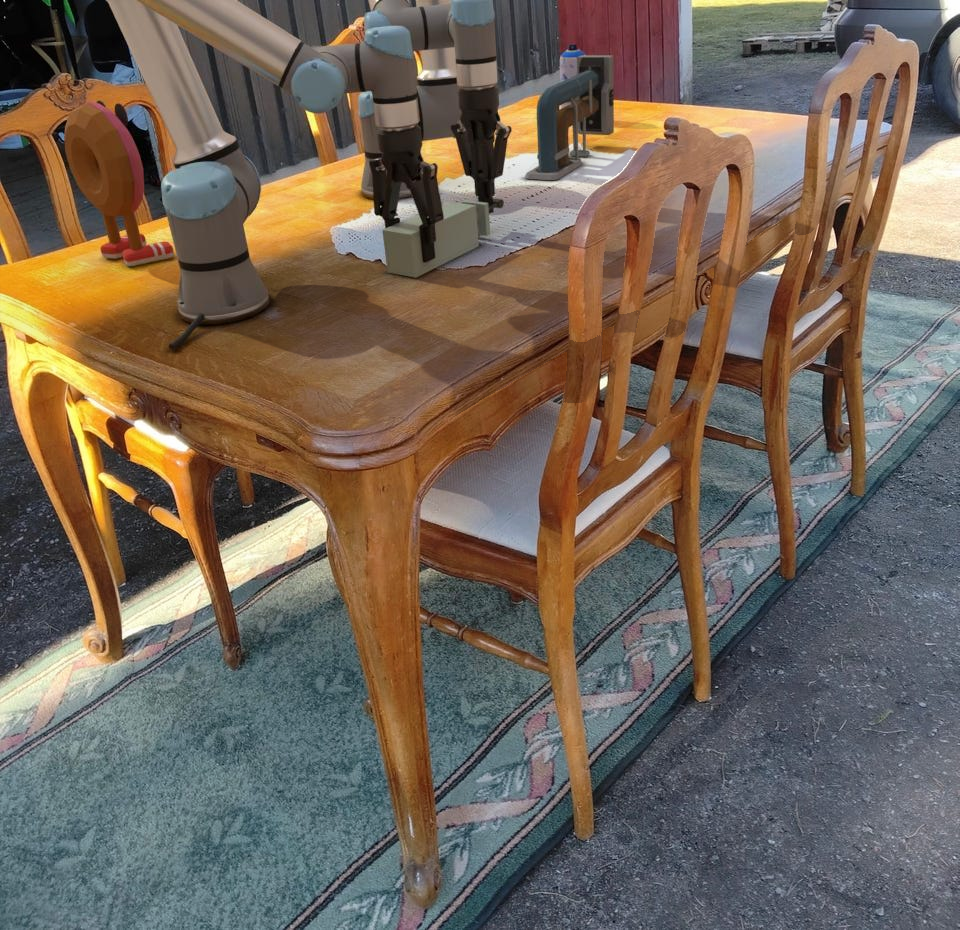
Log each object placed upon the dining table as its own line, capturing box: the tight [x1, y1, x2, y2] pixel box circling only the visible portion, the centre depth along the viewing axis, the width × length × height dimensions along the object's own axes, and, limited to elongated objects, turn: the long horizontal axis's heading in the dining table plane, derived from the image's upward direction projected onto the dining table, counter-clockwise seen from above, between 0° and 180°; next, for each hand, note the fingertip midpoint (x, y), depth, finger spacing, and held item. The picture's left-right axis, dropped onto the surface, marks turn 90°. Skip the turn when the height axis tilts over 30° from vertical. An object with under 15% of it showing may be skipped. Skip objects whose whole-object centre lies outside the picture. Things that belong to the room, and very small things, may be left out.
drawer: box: [461, 197, 505, 238], centre depth 184 cm, size 24×6×6 cm, turn 144°
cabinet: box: [382, 201, 480, 279], centre depth 179 cm, size 19×7×8 cm, turn 144°
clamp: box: [524, 54, 615, 181], centre depth 231 cm, size 35×9×21 cm, turn 151°
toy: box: [64, 100, 175, 267], centre depth 188 cm, size 21×10×30 cm, turn 47°
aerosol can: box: [559, 43, 586, 109], centre depth 273 cm, size 8×8×20 cm
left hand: (413, 257), depth 176 cm, fingers closed on cabinet, 7 cm apart
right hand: (486, 213), depth 190 cm, fingers closed
